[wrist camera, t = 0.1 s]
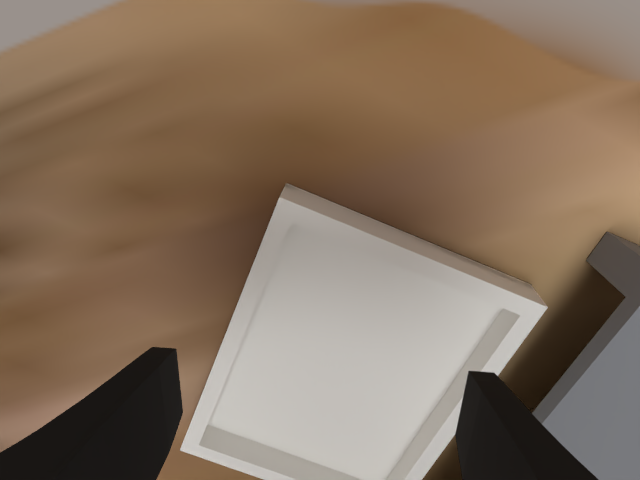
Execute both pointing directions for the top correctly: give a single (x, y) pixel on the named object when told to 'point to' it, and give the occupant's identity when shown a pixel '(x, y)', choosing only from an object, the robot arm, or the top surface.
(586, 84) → the top surface
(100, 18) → the top surface
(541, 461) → the robot arm
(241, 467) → the tray
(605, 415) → the shelf
